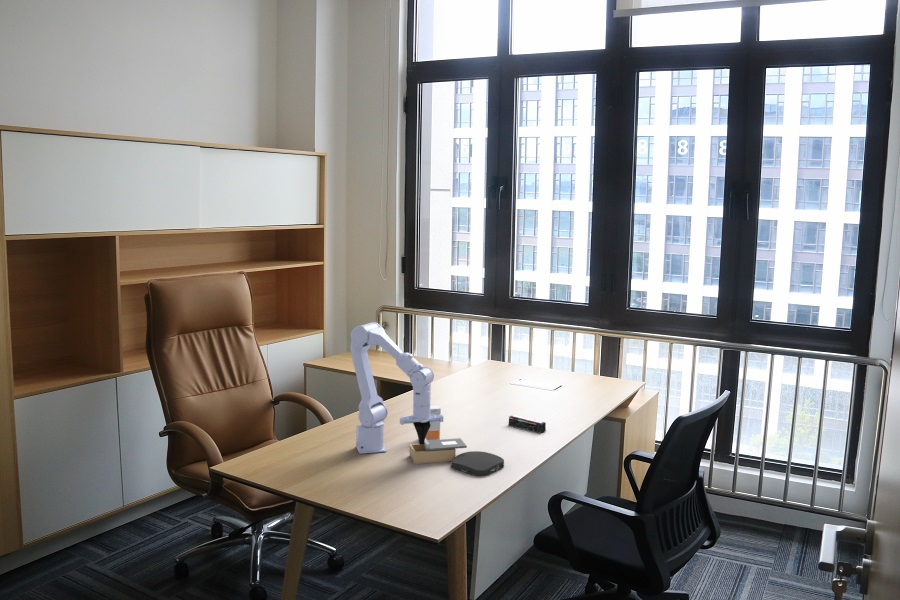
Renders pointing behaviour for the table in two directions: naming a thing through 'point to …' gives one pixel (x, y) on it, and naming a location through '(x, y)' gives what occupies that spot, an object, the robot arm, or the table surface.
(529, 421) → the graphics card
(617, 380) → the table surface
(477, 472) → the media streaming box
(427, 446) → the lid
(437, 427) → the skincare box
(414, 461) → the box
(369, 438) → the robot arm
